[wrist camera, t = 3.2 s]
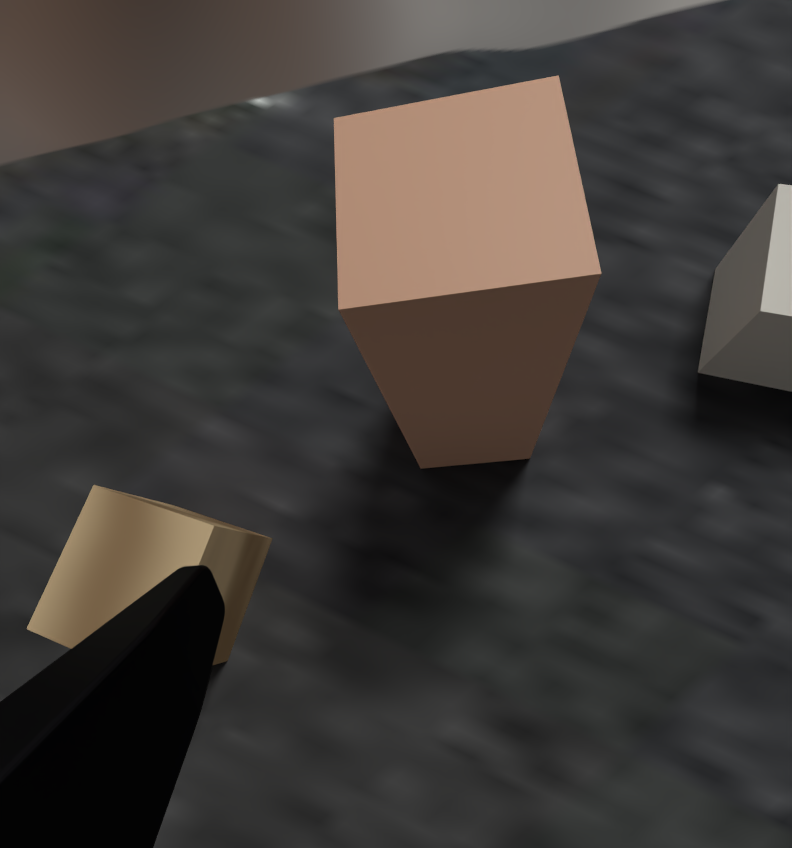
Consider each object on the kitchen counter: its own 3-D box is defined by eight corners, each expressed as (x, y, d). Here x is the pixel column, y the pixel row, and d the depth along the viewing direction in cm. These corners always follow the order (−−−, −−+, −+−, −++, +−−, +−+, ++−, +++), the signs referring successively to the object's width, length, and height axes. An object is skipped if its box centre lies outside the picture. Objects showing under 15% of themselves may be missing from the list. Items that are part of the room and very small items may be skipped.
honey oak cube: (273, 538, 21) (214, 525, 17) (228, 660, 20) (151, 684, 15) (174, 505, 23) (93, 485, 18) (126, 619, 21) (26, 628, 17)
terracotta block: (529, 458, 21) (601, 273, 8) (420, 468, 21) (338, 309, 9) (515, 358, 22) (558, 75, 10) (413, 370, 23) (333, 117, 10)
